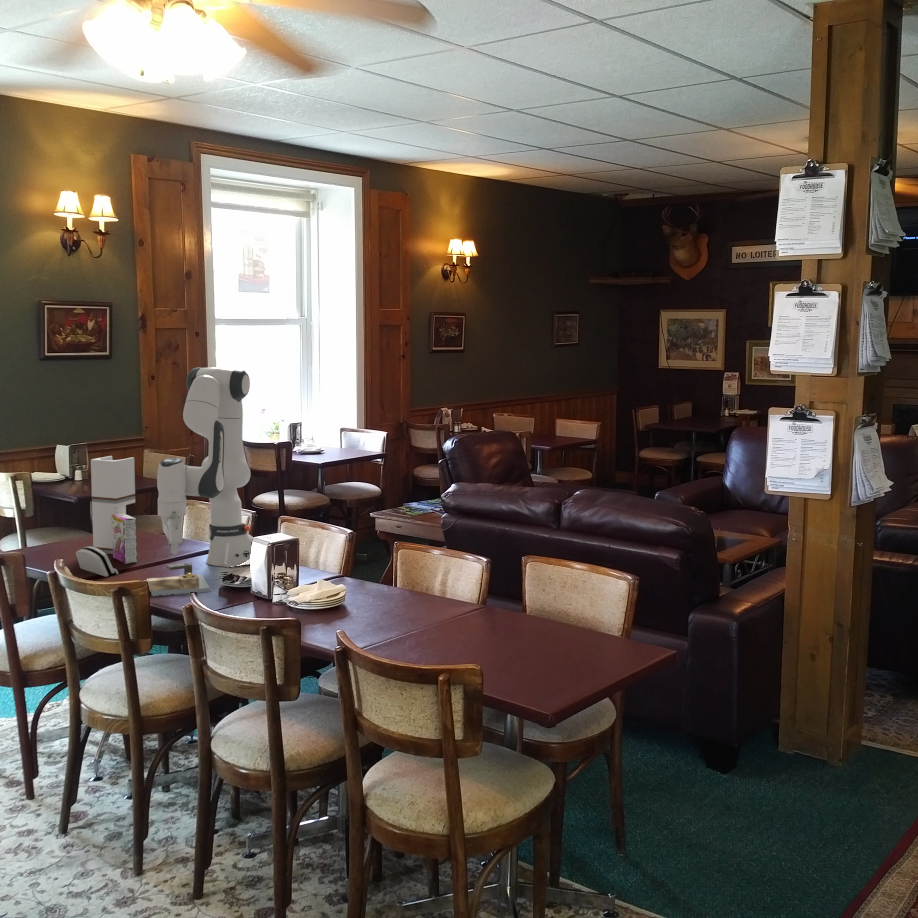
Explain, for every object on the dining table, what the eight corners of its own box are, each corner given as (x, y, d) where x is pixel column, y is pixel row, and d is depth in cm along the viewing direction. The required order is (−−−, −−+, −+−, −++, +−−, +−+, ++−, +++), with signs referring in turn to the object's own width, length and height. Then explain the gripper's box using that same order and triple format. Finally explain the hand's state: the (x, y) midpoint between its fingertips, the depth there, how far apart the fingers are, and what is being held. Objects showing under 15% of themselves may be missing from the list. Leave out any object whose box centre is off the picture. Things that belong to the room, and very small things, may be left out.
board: (201, 578, 337) (201, 574, 337) (210, 591, 321) (210, 587, 321) (146, 582, 330) (146, 578, 330) (152, 596, 314) (152, 592, 314)
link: (196, 583, 326) (196, 573, 325) (199, 587, 321) (199, 578, 320) (146, 587, 320) (146, 577, 319) (148, 592, 314) (148, 582, 314)
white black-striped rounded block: (119, 574, 340) (109, 548, 336) (107, 581, 337) (97, 555, 333) (93, 565, 351) (83, 541, 347) (81, 572, 348) (71, 547, 344)
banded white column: (117, 554, 368) (115, 461, 363) (93, 552, 371) (90, 459, 367) (136, 548, 379) (134, 457, 374) (112, 545, 382) (110, 455, 377)
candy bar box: (111, 558, 362) (110, 514, 360) (125, 556, 365) (124, 512, 363) (124, 564, 354) (123, 519, 352) (137, 562, 357) (136, 517, 355)
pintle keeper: (191, 579, 335) (191, 562, 334) (197, 589, 322) (197, 571, 322) (166, 581, 331) (166, 564, 330) (171, 592, 319) (171, 573, 318)
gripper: (187, 514, 308) (187, 558, 310) (178, 503, 327) (178, 544, 329) (166, 516, 306) (166, 559, 308) (158, 504, 325) (159, 545, 326)
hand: (173, 551), depth 318 cm, fingers open, 5 cm apart
